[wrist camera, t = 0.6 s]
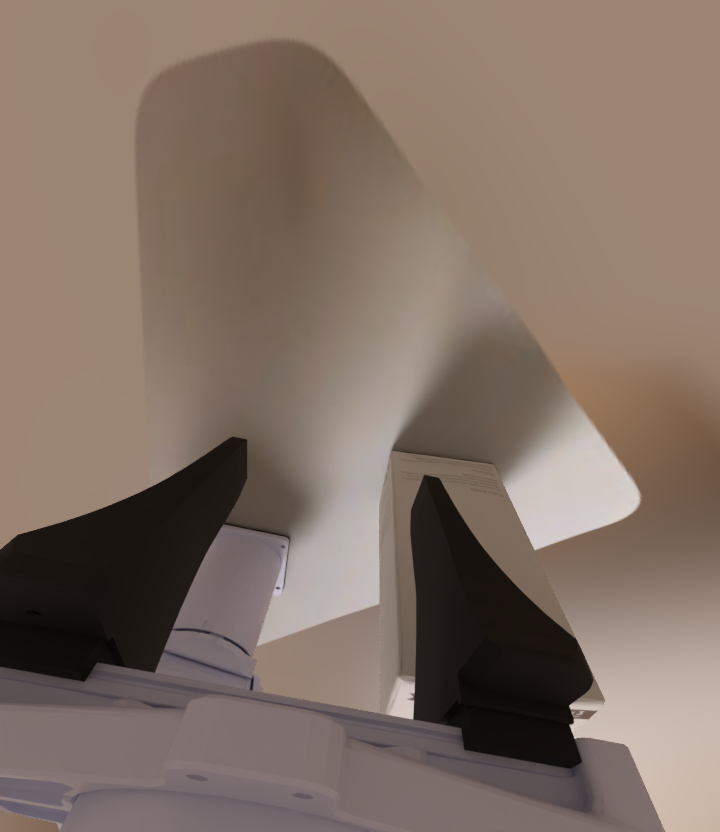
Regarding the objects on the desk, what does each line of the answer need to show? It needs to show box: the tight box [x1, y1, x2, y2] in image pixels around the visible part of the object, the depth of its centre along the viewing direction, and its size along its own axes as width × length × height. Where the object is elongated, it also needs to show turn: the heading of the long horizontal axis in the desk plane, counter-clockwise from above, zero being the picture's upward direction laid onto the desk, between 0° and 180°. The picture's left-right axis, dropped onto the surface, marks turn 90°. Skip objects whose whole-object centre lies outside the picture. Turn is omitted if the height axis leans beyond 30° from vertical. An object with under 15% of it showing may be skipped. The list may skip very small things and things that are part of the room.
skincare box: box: [379, 451, 605, 733], centre depth 20 cm, size 8×6×15 cm
